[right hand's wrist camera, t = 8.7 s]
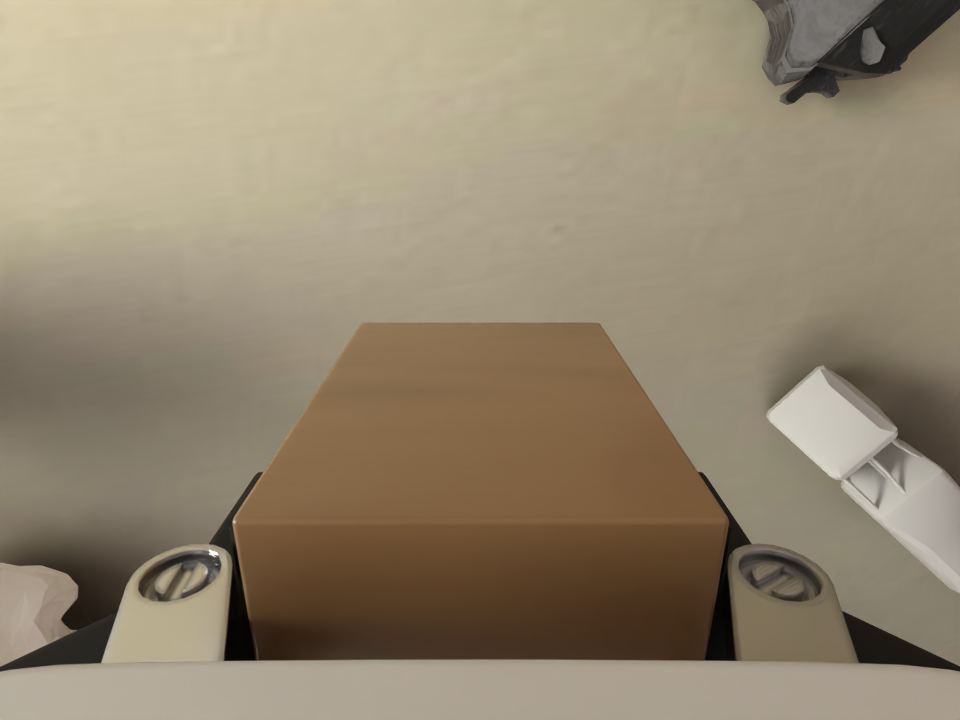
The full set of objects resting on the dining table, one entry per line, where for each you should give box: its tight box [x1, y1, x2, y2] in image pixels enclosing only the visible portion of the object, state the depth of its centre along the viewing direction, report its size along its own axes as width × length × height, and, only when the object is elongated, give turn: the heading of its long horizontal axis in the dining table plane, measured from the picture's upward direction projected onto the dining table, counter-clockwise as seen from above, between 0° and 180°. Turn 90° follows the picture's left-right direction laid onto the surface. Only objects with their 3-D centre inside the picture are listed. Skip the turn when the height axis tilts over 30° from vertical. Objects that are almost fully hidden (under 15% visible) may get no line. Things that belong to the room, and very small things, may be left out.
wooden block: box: [232, 323, 729, 661], centre depth 11 cm, size 5×5×7 cm
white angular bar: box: [766, 365, 960, 593], centre depth 29 cm, size 20×4×7 cm, turn 49°
